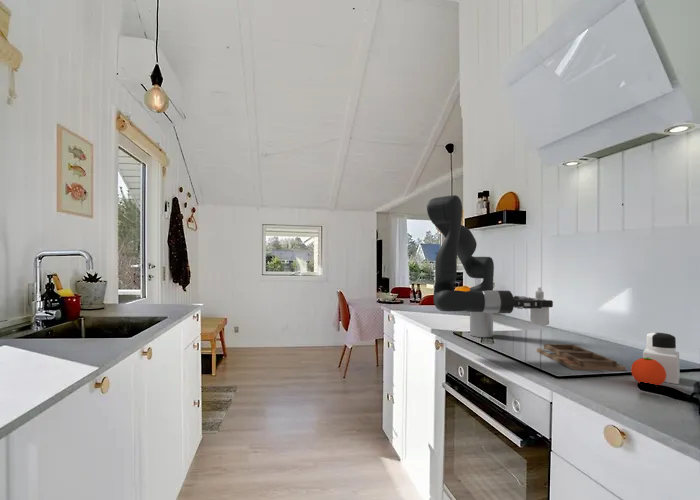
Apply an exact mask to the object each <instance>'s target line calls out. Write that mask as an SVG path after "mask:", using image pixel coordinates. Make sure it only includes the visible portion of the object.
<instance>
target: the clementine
mask: <svg viewBox="0 0 700 500" xmlns="http://www.w3.org/2000/svg"><path fill="white" fill-rule="evenodd" d="M630 371H631V375H632V378H633V379H635V381H636V382H638V383H639V384H640V382H644V383H650V384H655V385H659V386H661V385H663V384H664V383H665V382H664V381H665V379H666V371H665V369H664V367H663V366H662V365H661V364H660V363H659V362H657V361H656V360H653V359H651V358H643V357H642V358H638V359H637V360H635V361H634V362H633V363H632V364H631V368H630Z"/></svg>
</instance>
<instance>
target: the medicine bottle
mask: <svg viewBox="0 0 700 500" xmlns="http://www.w3.org/2000/svg"><path fill="white" fill-rule="evenodd" d="M676 342H677V341H676V336H675V335H672V334H670V333H665V332H649V333H647V334H646V347H645V349H644V350H643V352H642V358H651V359H653V360H656V361H657V362H659V363H660V364H661V365H662V366H663V367H664V369H665V371H666V379H665V381H664V382H663V383H669V384H673V385H679V384H680V378H681V376H680V374H681V373H680V371H681V370H680V369H681V368H680V352H678V351H676V349H677V347H676V346H677V345H676V344H677V343H676Z"/></svg>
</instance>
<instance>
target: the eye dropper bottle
mask: <svg viewBox="0 0 700 500" xmlns="http://www.w3.org/2000/svg"><path fill="white" fill-rule="evenodd" d="M544 292H545V291H543V290H542V287H537V290H536V291H535V297H534V298H535V299H533V300H538V299H539V300H546V299H545V297H544V295H545V293H544ZM535 306H537V302H535ZM529 311H530V313H529V314H530V316H529V317H530V318H529V319H530V324H534V325H539V326H548V325H550V307H542V308H540V309H539V308H532V309H529Z"/></svg>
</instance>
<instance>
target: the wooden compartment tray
mask: <svg viewBox="0 0 700 500" xmlns="http://www.w3.org/2000/svg"><path fill="white" fill-rule="evenodd" d="M536 352H537V353H540V354H541V355H543V356H545V357H547V358H549V359H550V360H553V361H555V362H556V363H559V364H561V365H563V366H564V367H566V368H569V369H571V370H572V371H574V370H575V371H624V370H626V371H627V367H626V366H625V365H622V364H619V363H618V362H617V361H616V360H614V359H611V358H608V357H606V356H603V355H602V354H598V353H596V352H594V351H591V350H588V349H587V348H584V347H581V346H578V345H575V344H565V343H563V344H562V343H561V344H557V343H556V344H554V343H552V344H550V343H548V344H547V343H544V344H543V348H540V347H539V348H536Z"/></svg>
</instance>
